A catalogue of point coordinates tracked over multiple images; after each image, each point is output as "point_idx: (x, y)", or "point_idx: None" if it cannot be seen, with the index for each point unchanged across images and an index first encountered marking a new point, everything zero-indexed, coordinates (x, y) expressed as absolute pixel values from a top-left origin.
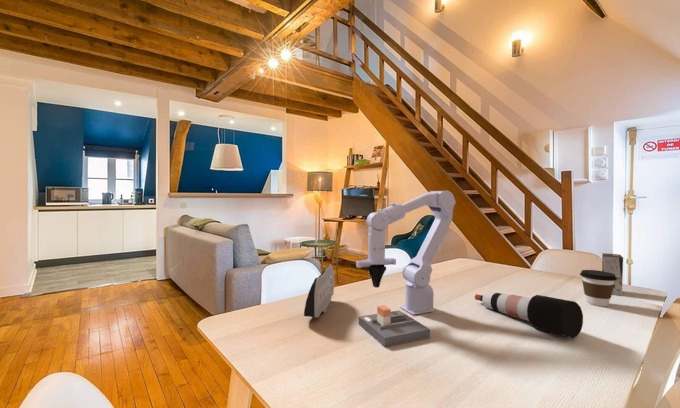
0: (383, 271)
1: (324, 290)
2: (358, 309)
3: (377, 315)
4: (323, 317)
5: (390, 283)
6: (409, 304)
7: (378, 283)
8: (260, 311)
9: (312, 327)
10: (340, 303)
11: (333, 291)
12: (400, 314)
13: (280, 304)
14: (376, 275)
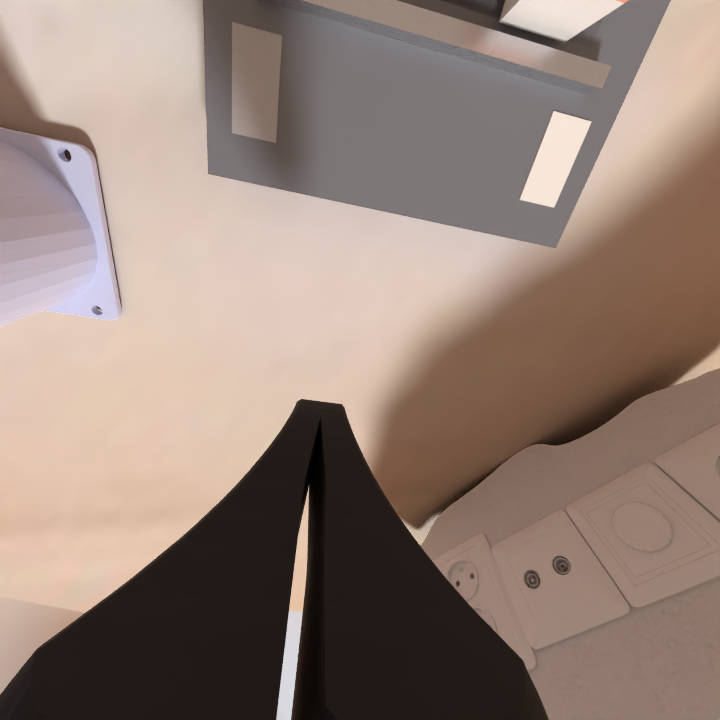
0: (170, 595)
1: (665, 537)
2: (372, 407)
3: (606, 9)
4: (577, 405)
5: (12, 583)
6: (47, 221)
7: (315, 423)
8: None
9: (710, 337)
10: (394, 493)
11: None
12: (256, 71)
13: None
14: (370, 529)
